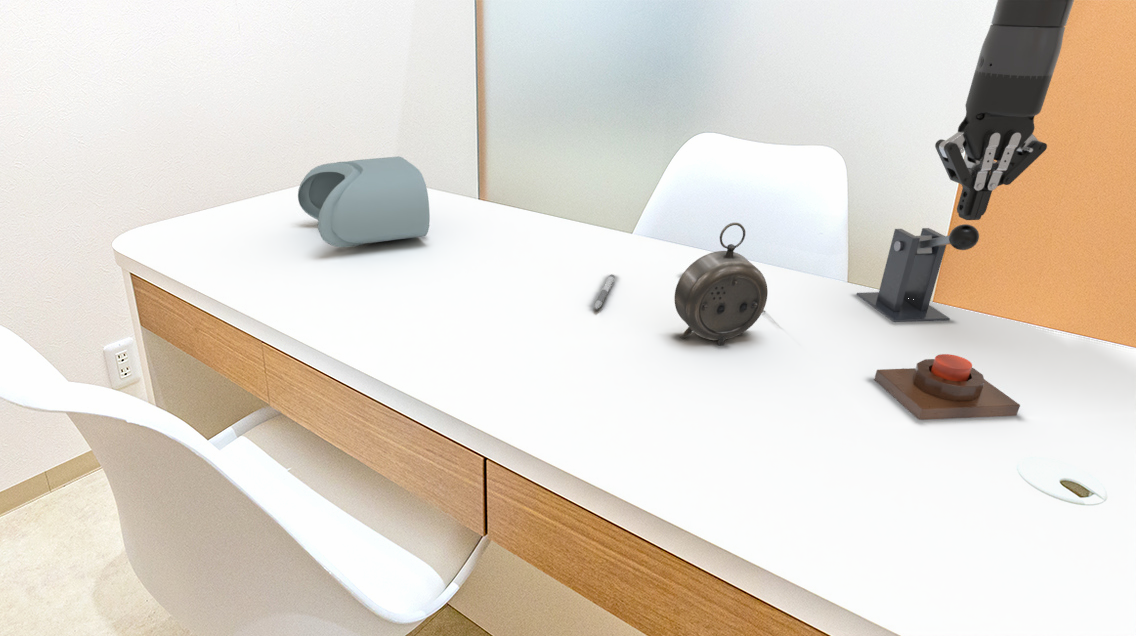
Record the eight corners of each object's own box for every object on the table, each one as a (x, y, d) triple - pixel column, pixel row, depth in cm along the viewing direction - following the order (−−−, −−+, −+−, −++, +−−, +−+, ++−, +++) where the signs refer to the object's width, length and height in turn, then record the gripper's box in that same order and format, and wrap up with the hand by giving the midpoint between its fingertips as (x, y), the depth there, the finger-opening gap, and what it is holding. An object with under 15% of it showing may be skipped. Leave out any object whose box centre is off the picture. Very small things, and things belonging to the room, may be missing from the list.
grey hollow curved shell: (431, 248, 132) (428, 175, 126) (322, 261, 125) (314, 185, 119) (396, 215, 150) (392, 150, 144) (300, 225, 143) (292, 157, 137)
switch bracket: (947, 326, 103) (973, 244, 98) (892, 328, 102) (914, 245, 97) (906, 298, 112) (927, 221, 107) (855, 300, 111) (873, 222, 106)
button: (954, 367, 84) (958, 353, 84) (975, 382, 81) (980, 368, 80) (924, 368, 84) (928, 354, 83) (943, 383, 81) (948, 369, 80)
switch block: (960, 382, 89) (970, 352, 87) (1014, 422, 81) (1026, 390, 79) (872, 385, 88) (880, 355, 86) (917, 426, 80) (927, 394, 78)
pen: (615, 281, 118) (616, 272, 117) (599, 315, 106) (599, 305, 105) (609, 280, 118) (609, 272, 117) (591, 314, 106) (592, 305, 106)
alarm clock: (744, 332, 101) (765, 214, 94) (764, 349, 96) (787, 227, 89) (667, 337, 99) (682, 218, 92) (683, 356, 95) (700, 231, 87)
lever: (985, 248, 92) (985, 222, 92) (960, 248, 92) (960, 222, 92) (922, 258, 104) (922, 235, 104) (900, 258, 104) (900, 235, 104)
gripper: (980, 73, 81) (936, 228, 89) (1094, 72, 82) (1040, 226, 90) (938, 65, 88) (900, 211, 95) (1044, 65, 89) (998, 209, 97)
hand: (968, 218), depth 93 cm, fingers closed
